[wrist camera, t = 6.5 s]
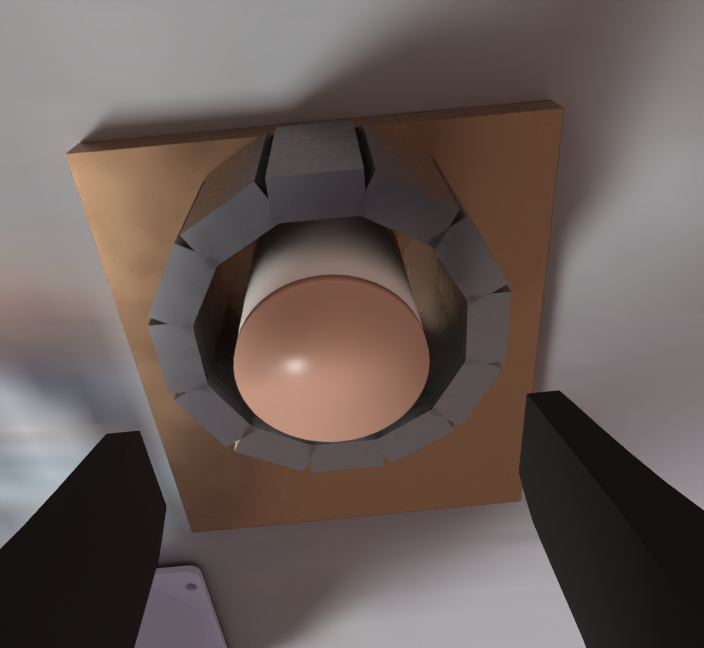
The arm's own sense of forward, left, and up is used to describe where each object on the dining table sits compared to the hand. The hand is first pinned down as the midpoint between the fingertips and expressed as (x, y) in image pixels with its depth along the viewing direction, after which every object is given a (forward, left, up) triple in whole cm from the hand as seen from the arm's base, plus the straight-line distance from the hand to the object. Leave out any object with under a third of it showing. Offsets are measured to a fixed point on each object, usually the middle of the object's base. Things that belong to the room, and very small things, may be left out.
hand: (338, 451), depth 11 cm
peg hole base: (-3, 0, -9) cm, 9 cm away
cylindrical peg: (0, 0, -8) cm, 8 cm away
